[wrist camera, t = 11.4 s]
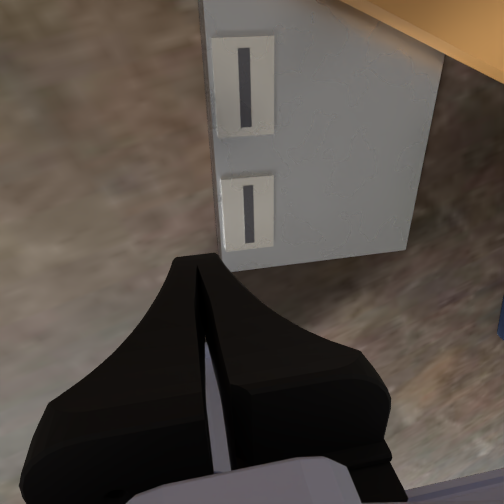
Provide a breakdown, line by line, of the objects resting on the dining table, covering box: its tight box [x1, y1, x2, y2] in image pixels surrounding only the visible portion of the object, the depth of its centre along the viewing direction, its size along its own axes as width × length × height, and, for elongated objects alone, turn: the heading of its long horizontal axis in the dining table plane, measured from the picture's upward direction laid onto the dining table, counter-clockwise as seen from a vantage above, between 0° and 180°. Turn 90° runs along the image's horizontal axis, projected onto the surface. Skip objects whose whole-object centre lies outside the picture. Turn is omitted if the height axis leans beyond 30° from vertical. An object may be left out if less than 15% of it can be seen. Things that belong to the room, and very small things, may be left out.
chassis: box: [198, 0, 445, 272], centre depth 20 cm, size 14×11×3 cm
